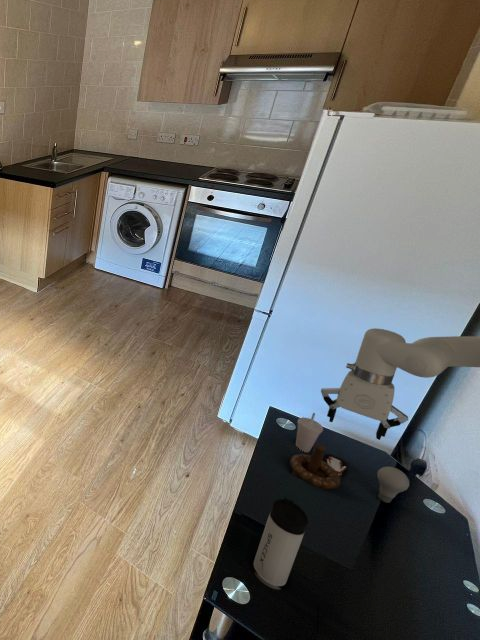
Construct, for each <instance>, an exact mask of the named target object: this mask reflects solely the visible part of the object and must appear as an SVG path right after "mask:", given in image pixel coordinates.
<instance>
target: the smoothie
mask: <svg viewBox="0 0 480 640" xmlns="http://www.w3.org/2000/svg"><path fill="white" fill-rule="evenodd" d="M315 416H316V413H315V412H312V415H311V417H310V418H309V417H304V416H303V417H298V419H297V430H296V437H295V445H296V446H297V447H298V448H299V449H300V450H299V449H298V448H297V447H296V446H295V447H296V448H297V449H298V450H299V451H301V450H302V451H301V452H303V451H304V453H310V452H311V450H312V448H313V447H314V446H315V444H316V442H317V440H318V438H319V436H320V435H321V434H322V433H323V432H324V426H323V425H322V423H320V422H318V421H317V420H315V419H314V418H315Z"/></svg>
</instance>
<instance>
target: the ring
mask: <svg viewBox="0 0 480 640" xmlns="http://www.w3.org/2000/svg"><path fill="white" fill-rule="evenodd" d="M310 458H311V455H309V454H304V453H303V454H302V453H299V454H295V455H292V456H291V457H290V459H289V466H290V468H291V469H292V472H293V471H294V472H295V473H296V474H297V475H298V476H299V477H301V478H302V479H303V480H302V479H301V480H302V481H304V480H305V481H304V482H307V483H308V484H310V485H313V486H314V487H317V488H319V487H320V489H322V488H326V489H327V490H332V489H336V488H339V487H340V486H341V476H339V475H338V473H337V472H336V471H335V470H334V468H332V467H331V466H330V465H328V464H327V463H326V461H324V460H322V461H321V463H320V466H319V470H321V471H322V472H323V473H325V474H326V476H327V478H323V477H318V476H316V475H314V474H312V473H310V472H308V471H307V470H306V469H304V468H303V466H302V465H303V464H306V465H308V464H309V461H310Z"/></svg>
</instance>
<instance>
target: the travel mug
mask: <svg viewBox="0 0 480 640" xmlns="http://www.w3.org/2000/svg"><path fill="white" fill-rule="evenodd" d="M308 524H309V518H308V515H307V514H306V512H305V511H304V510H303V509H302V508H301V506H299V505H297V504H296V503H295V502H294V500H292V499H289V498H287V497H283V498H278V499H276V500H274V501H273V502H272V505H271V510H270V511H269V514H268V517H267V520H266V524H265V526H264V530H263V532H262V535H261V537H260V538H261V539H260V541H259V545H258V548H257V551H256V552H255V553H256V554H255V557H254V560H253V569H254V570H255V571H253V573H254V575H255V577H256V578H257V580H259V581H260V582H261V583H262V584H263V585H265V586H266V587H268V588H270V589H273V590H279V591H280V590H282V588H281V587H283V586H285V585H286V584H287V582H288V579H289V576H290V573H291V571H292V567H293V565H294V562H295V559H296V557H297V554H298V552H299V549H300V546H301V544H302V540H303V538H304V535H305V533H306V528H307V526H308Z"/></svg>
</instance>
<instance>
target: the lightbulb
mask: <svg viewBox="0 0 480 640" xmlns="http://www.w3.org/2000/svg"><path fill="white" fill-rule="evenodd" d="M377 480H378V482H379V492H378V495H377V497H378V499H380V500H381V502H383V503H386V504H390V503H391V502H392V501H393V499H395V497H396V496H397V495H398V494H399V493H402V492H405V491H407V490H408V489H409V488H410V480H409V477H408V476H407V474H405V472H403V471H402V470H400V469H398V468H396V467H394V466H383V467H380V468H379V469H378V470H377Z"/></svg>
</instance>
